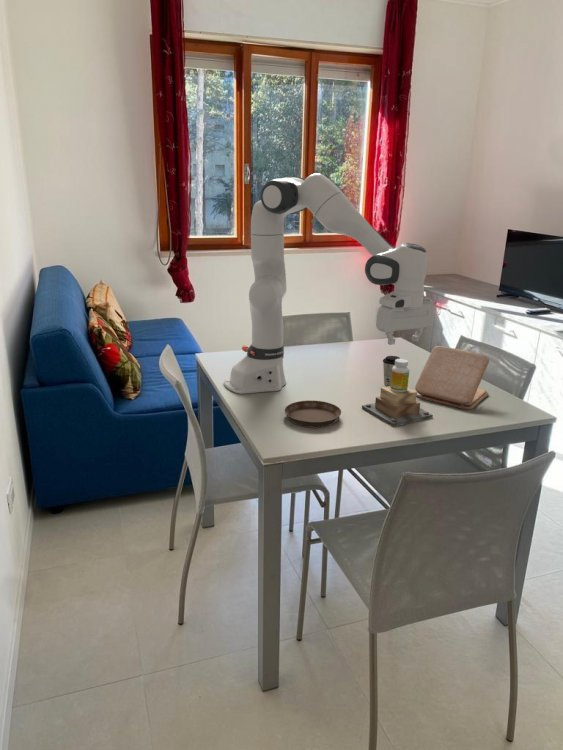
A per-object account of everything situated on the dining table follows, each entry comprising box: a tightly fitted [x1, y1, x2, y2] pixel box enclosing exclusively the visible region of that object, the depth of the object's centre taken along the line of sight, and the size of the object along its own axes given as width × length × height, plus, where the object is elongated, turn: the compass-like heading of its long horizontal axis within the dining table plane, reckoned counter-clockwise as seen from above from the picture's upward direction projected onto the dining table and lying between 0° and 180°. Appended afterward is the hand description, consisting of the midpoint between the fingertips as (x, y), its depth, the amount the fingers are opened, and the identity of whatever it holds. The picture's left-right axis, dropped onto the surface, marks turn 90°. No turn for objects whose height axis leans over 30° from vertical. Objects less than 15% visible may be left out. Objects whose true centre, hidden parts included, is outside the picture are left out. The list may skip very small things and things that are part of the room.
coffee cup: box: [382, 355, 401, 386], centre depth 214 cm, size 7×7×10 cm
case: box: [414, 345, 490, 410], centre depth 203 cm, size 20×21×16 cm
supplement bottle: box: [390, 358, 410, 392], centre depth 185 cm, size 5×5×10 cm
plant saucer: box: [284, 400, 342, 428], centre depth 183 cm, size 18×18×3 cm
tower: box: [361, 385, 434, 427], centre depth 188 cm, size 16×16×8 cm
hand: (403, 342), depth 181 cm, fingers open, 8 cm apart
